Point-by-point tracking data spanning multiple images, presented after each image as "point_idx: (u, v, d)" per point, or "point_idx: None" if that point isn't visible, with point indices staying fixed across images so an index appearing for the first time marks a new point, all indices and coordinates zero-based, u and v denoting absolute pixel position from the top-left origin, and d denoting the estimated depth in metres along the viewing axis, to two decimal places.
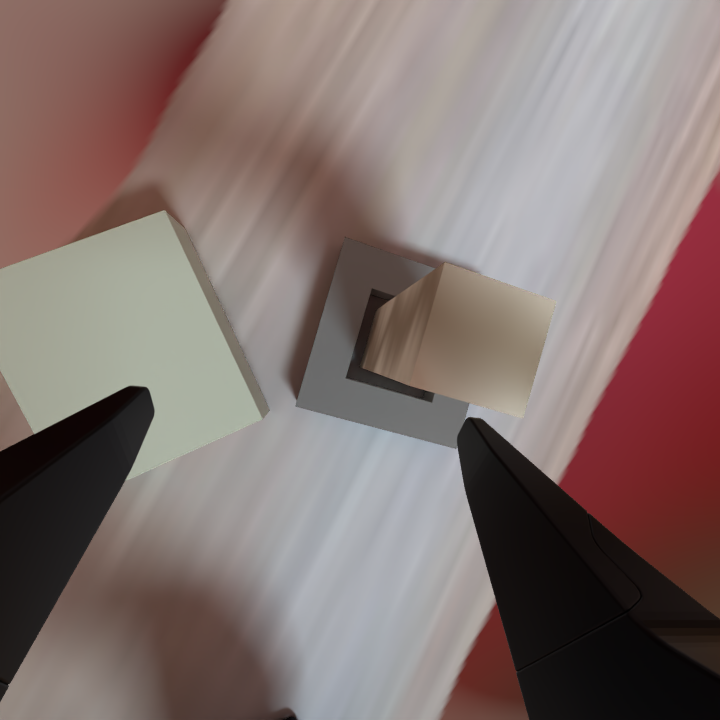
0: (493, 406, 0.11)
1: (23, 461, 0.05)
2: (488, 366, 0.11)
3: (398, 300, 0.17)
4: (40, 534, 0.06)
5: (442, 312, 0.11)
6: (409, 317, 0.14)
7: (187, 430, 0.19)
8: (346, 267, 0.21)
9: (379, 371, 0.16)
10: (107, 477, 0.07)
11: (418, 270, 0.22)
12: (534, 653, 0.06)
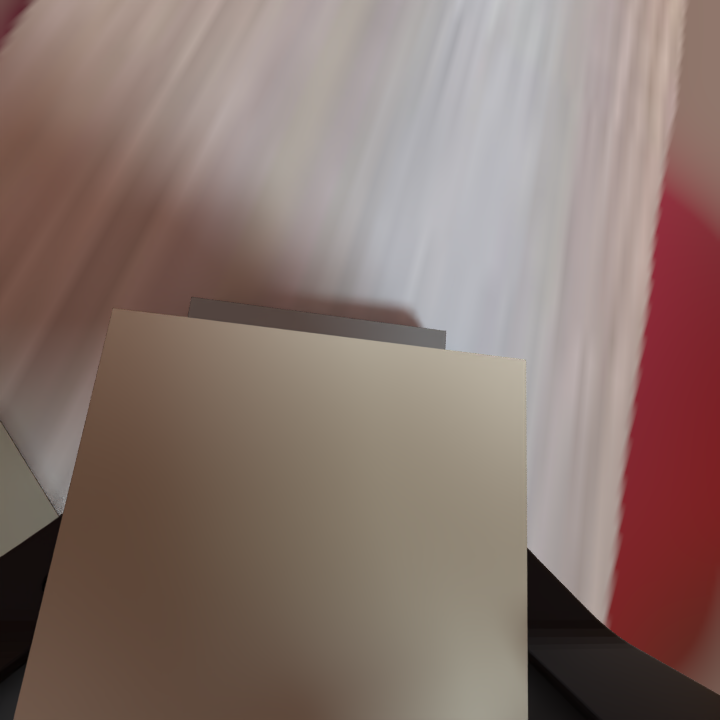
0: None
1: None
2: (345, 653, 0.03)
3: None
4: None
5: (119, 494, 0.03)
6: None
7: None
8: None
9: None
10: None
11: (314, 324, 0.15)
12: None
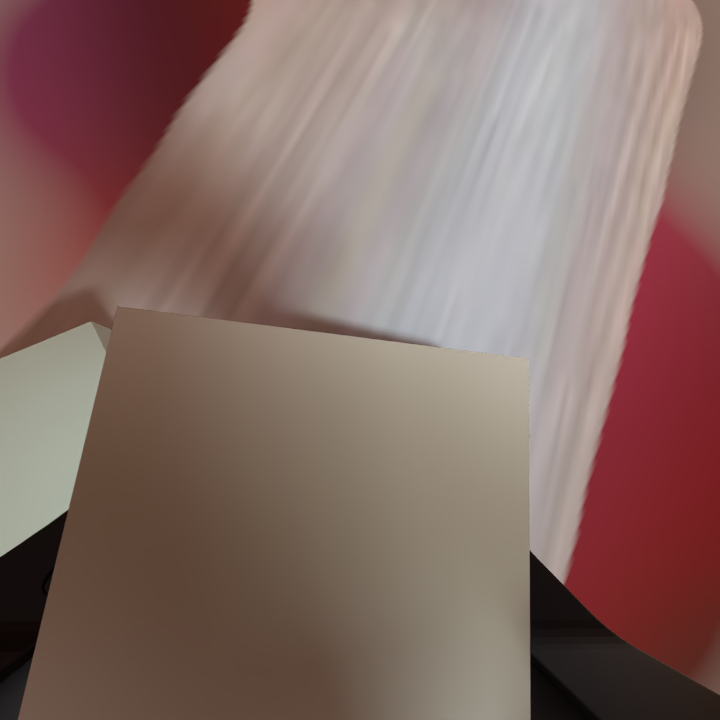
0: None
1: None
2: (348, 651, 0.03)
3: None
4: None
5: (124, 492, 0.03)
6: None
7: None
8: None
9: None
10: None
11: None
12: None
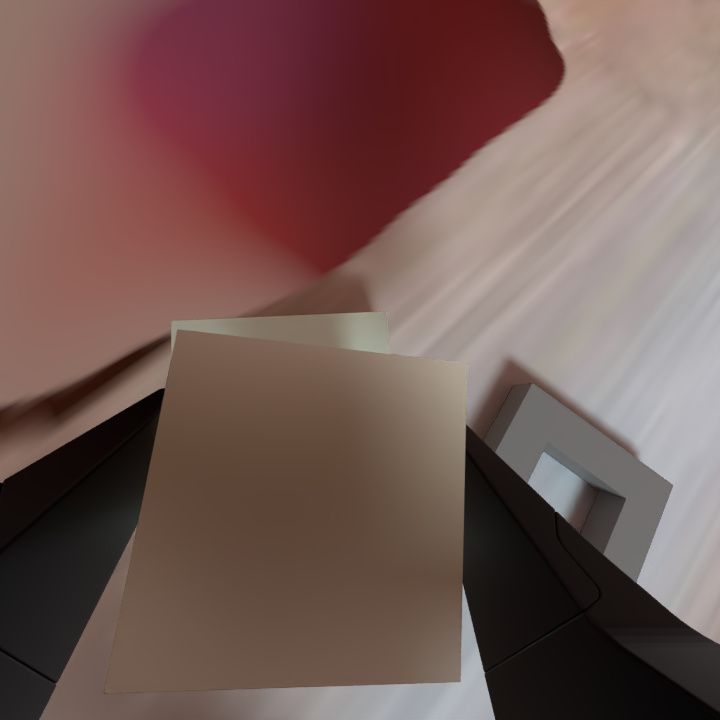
0: (373, 675, 0.04)
1: (71, 464, 0.06)
2: (335, 562, 0.04)
3: None
4: (87, 535, 0.06)
5: (185, 454, 0.04)
6: None
7: None
8: (528, 413, 0.20)
9: None
10: (143, 479, 0.07)
11: (595, 437, 0.21)
12: (500, 654, 0.06)
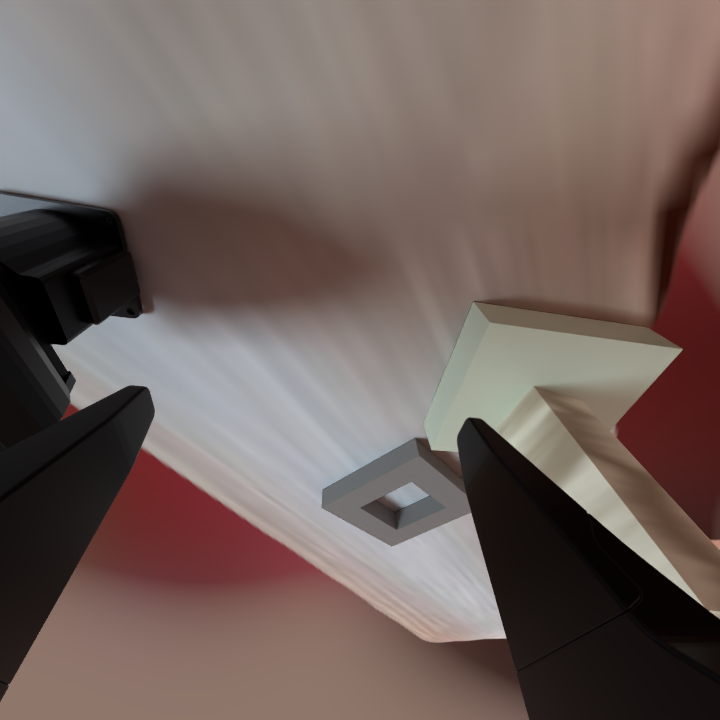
0: None
1: (23, 461, 0.05)
2: None
3: (655, 485, 0.18)
4: (40, 534, 0.06)
5: None
6: (693, 544, 0.15)
7: (464, 413, 0.24)
8: (467, 503, 0.33)
9: (608, 480, 0.16)
10: (107, 477, 0.07)
11: (435, 525, 0.35)
12: (534, 654, 0.06)
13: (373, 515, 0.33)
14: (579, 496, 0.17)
